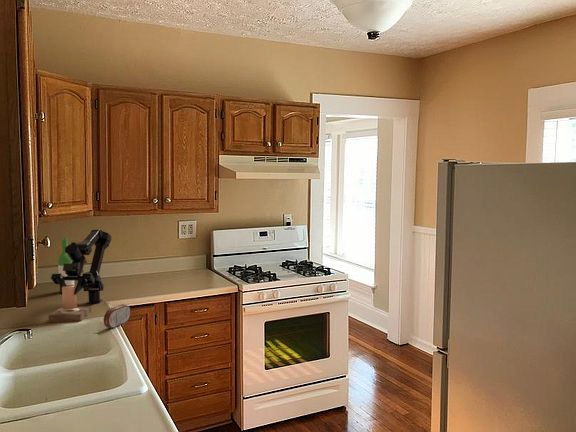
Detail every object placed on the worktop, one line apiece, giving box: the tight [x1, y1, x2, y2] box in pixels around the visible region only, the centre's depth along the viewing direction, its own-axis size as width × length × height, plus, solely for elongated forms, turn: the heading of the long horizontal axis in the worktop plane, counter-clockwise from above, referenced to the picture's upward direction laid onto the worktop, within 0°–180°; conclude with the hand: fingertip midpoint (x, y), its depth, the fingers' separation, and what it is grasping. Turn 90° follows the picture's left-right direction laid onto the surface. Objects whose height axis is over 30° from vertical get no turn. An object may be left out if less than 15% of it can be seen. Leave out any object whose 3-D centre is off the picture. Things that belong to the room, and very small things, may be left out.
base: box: [47, 305, 92, 323], centre depth 232 cm, size 14×14×3 cm
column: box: [61, 284, 78, 309], centre depth 232 cm, size 6×6×10 cm
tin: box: [103, 304, 132, 329], centre depth 219 cm, size 15×3×8 cm, turn 159°
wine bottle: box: [57, 238, 75, 287], centre depth 284 cm, size 8×8×30 cm
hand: (67, 294), depth 230 cm, fingers closed on column, 6 cm apart
